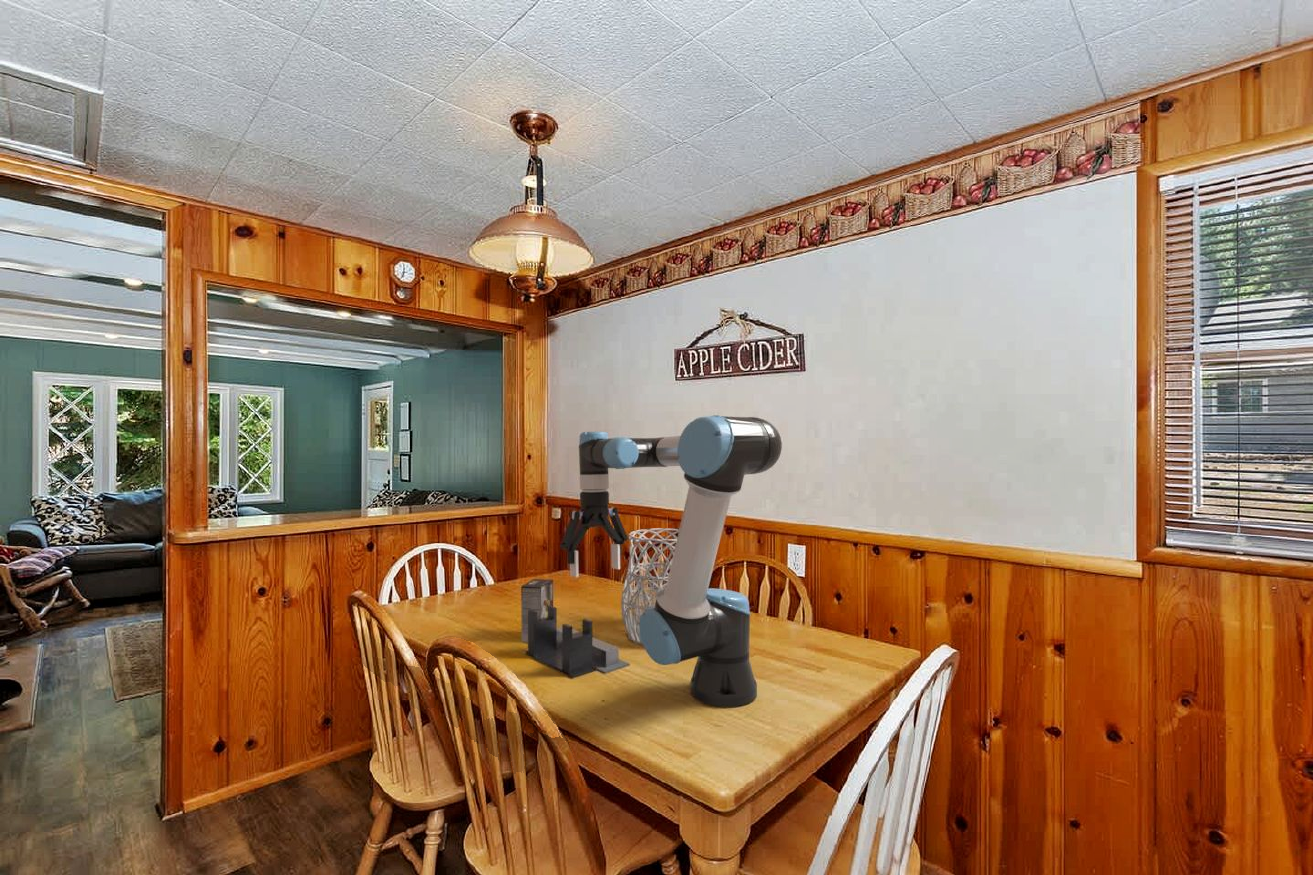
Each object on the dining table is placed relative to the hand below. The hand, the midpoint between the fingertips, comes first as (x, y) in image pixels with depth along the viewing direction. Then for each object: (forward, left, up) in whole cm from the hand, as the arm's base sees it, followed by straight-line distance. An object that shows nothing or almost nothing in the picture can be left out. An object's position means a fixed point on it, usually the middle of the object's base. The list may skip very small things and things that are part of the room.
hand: (595, 572), depth 157 cm
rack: (+6, +8, -23) cm, 25 cm away
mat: (+6, 0, -23) cm, 24 cm away
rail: (+6, -1, -23) cm, 23 cm away
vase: (+3, -26, -23) cm, 35 cm away
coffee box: (+26, +2, -23) cm, 35 cm away
